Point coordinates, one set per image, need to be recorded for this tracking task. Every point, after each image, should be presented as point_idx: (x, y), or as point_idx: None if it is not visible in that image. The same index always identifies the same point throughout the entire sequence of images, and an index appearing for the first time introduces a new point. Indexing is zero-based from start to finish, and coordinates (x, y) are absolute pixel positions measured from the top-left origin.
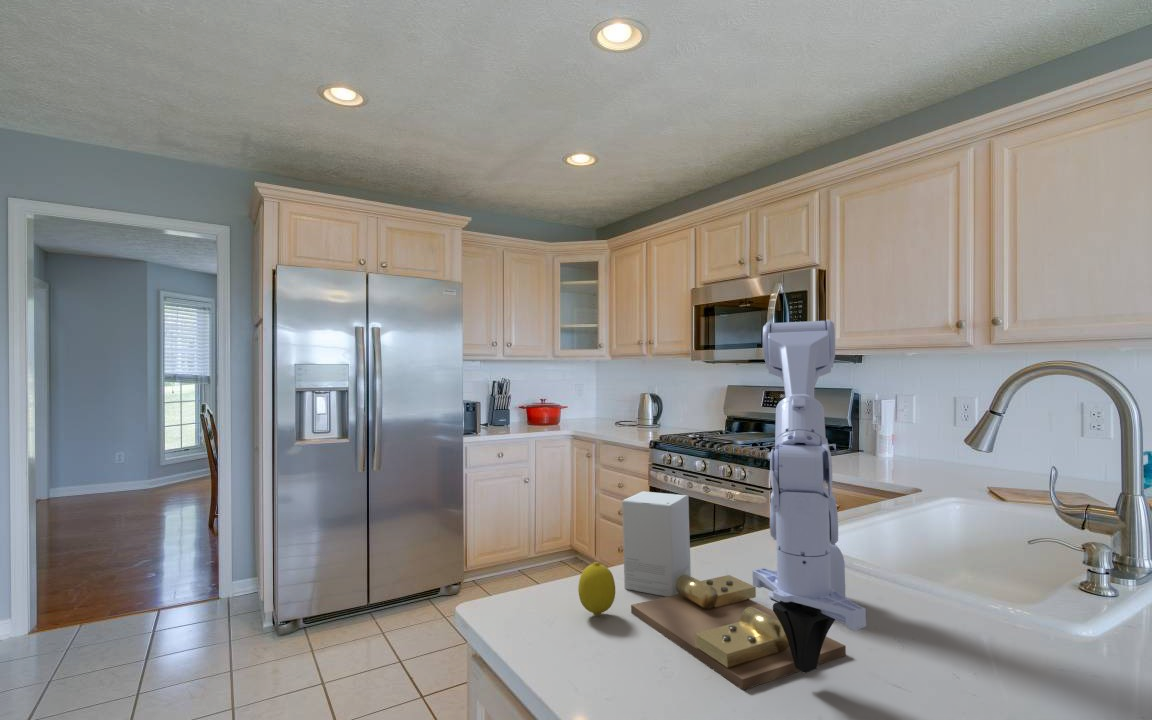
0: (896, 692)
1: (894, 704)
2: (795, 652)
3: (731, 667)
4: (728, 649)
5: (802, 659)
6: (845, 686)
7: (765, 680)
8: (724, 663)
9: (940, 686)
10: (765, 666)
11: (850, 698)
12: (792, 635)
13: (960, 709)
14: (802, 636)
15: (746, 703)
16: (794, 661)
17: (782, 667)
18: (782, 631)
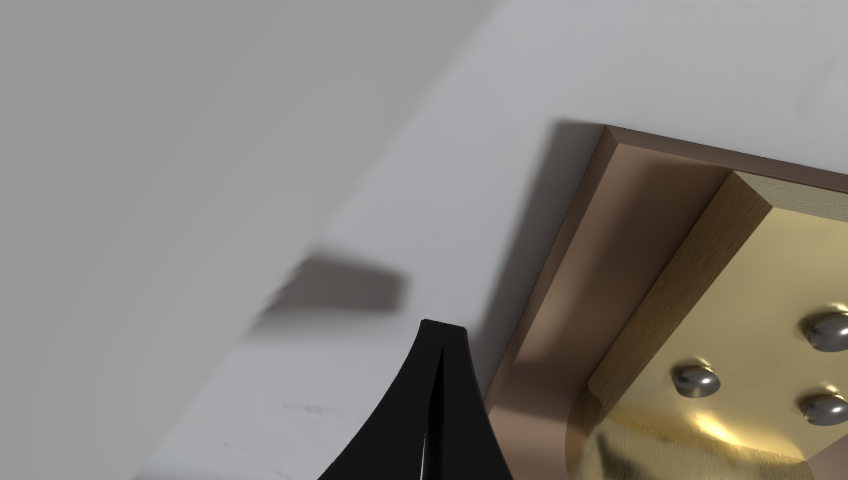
0: (295, 390)
1: (262, 352)
2: (446, 373)
3: (715, 193)
4: (782, 250)
5: (413, 354)
6: (376, 354)
7: (558, 239)
8: (762, 180)
9: (270, 441)
10: (581, 290)
11: (331, 318)
12: (442, 444)
13: (197, 401)
14: (360, 450)
15: (540, 44)
16: (462, 343)
17: (531, 322)
18: (591, 464)
